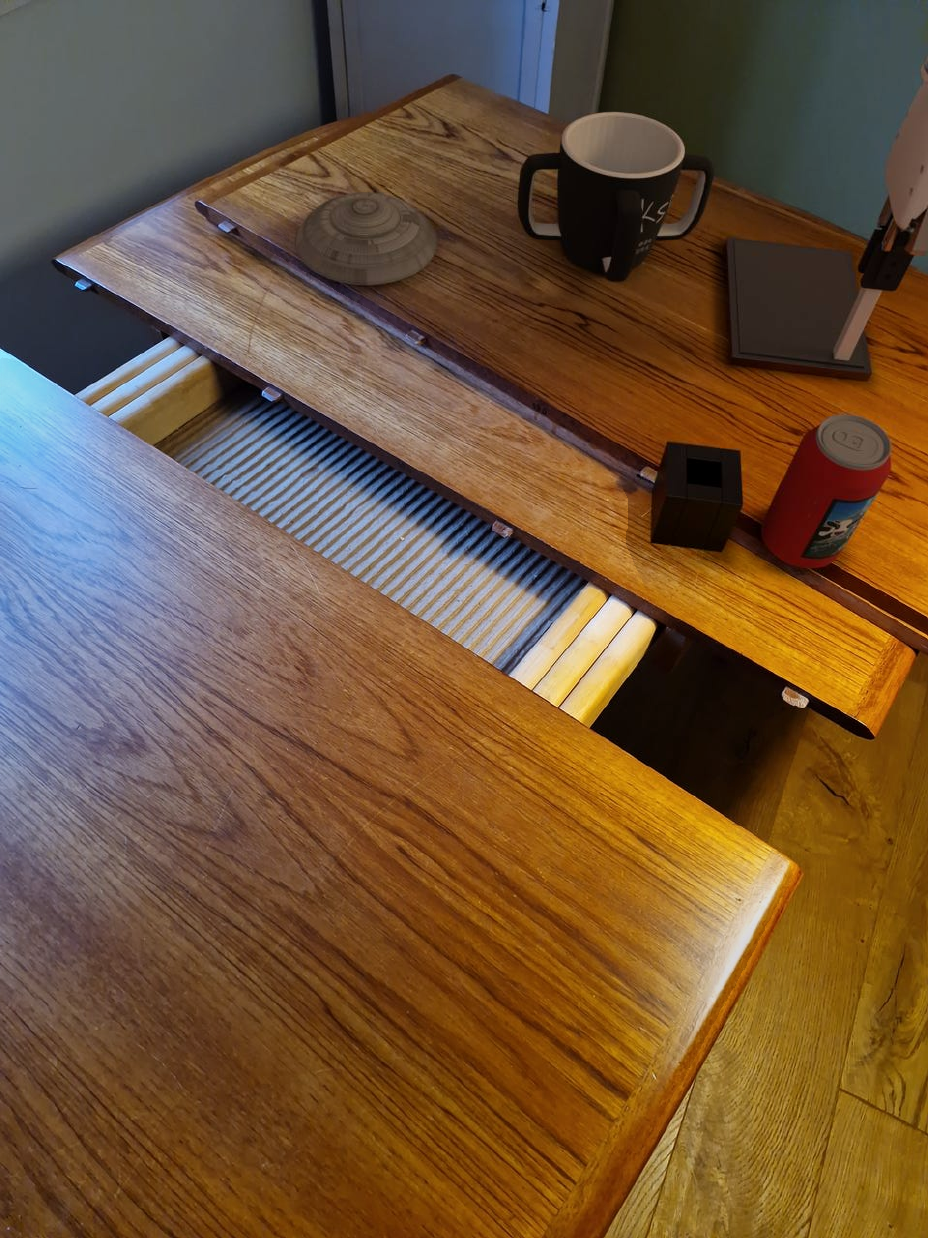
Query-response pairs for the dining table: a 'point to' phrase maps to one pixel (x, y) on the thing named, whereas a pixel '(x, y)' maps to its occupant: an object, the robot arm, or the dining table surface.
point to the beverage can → (827, 490)
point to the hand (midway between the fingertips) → (876, 279)
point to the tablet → (791, 308)
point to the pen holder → (696, 496)
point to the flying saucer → (366, 239)
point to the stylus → (857, 320)
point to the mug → (614, 191)
